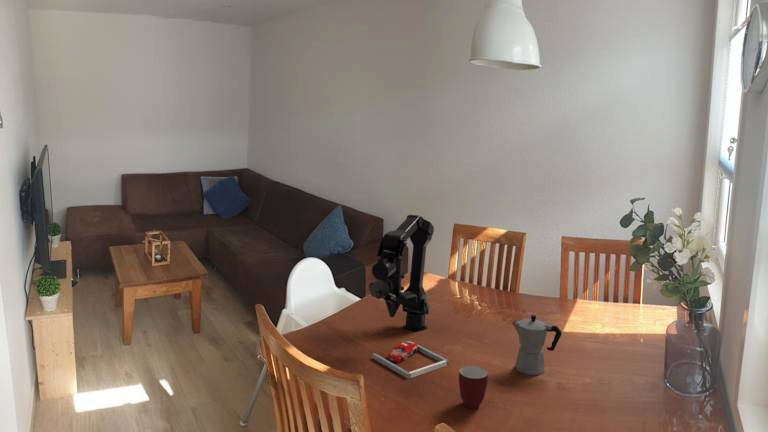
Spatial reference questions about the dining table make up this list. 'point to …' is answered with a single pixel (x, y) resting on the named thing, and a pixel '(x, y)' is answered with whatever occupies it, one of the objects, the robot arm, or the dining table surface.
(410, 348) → the race car
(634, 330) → the dining table surface
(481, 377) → the mug
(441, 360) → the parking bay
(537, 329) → the coffeepot
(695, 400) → the dining table surface
